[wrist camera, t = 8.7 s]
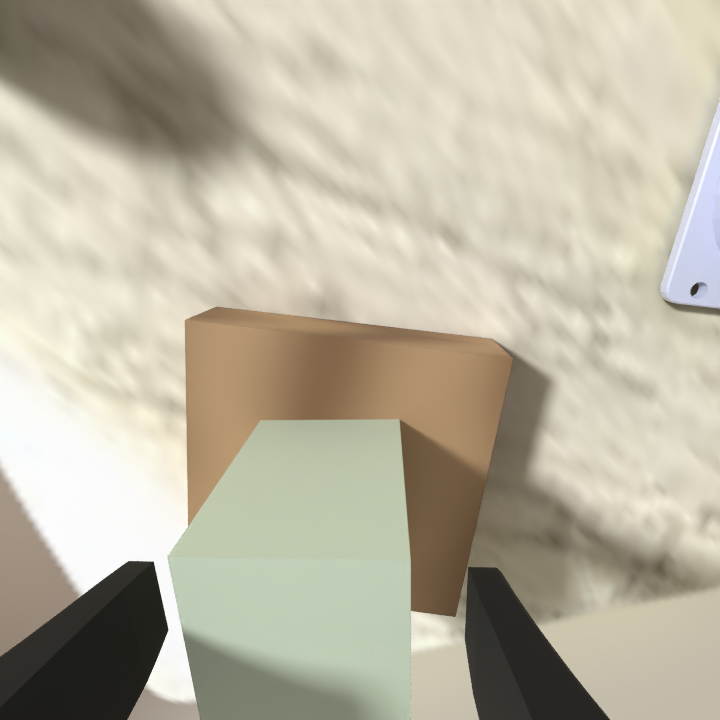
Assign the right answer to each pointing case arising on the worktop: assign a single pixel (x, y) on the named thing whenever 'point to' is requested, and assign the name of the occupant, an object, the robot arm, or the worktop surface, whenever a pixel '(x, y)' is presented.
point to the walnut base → (356, 415)
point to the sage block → (301, 577)
